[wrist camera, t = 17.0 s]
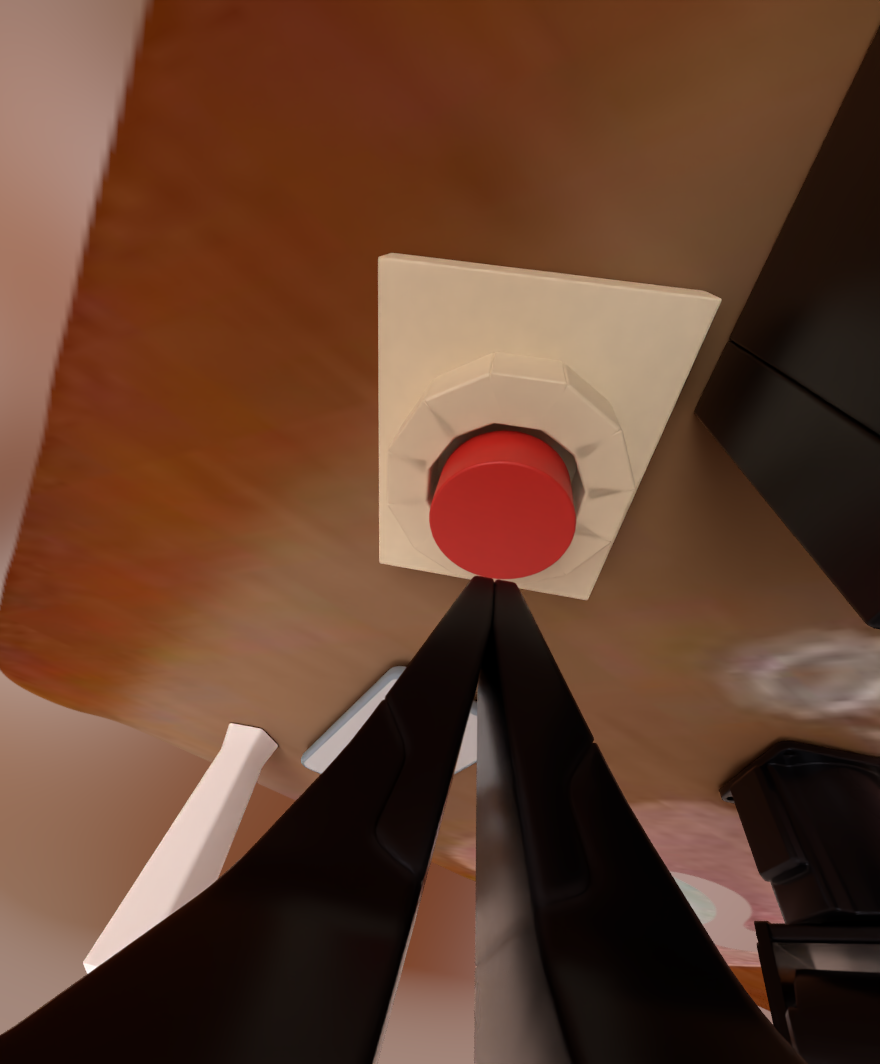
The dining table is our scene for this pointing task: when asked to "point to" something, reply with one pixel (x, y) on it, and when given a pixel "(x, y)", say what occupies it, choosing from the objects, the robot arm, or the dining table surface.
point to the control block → (525, 391)
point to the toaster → (817, 359)
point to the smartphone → (358, 714)
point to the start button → (503, 506)
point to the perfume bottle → (190, 843)
